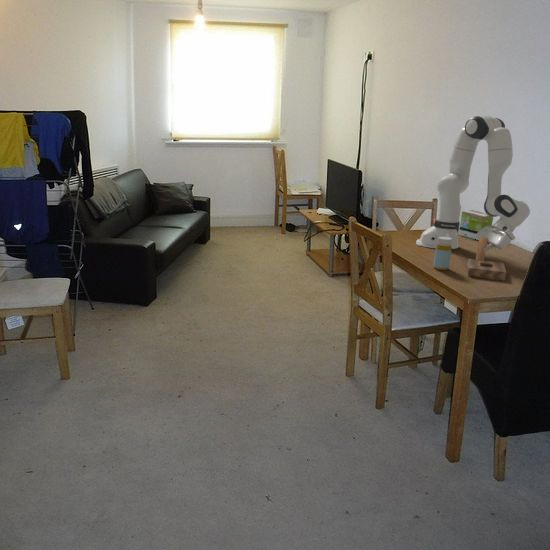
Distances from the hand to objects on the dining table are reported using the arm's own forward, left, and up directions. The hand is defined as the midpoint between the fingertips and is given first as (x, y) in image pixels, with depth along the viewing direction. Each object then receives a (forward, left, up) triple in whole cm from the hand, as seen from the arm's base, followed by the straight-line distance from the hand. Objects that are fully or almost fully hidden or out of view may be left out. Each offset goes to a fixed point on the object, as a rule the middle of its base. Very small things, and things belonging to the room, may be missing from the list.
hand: (480, 249), depth 274 cm
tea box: (0, +57, -8) cm, 58 cm away
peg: (+1, 0, -7) cm, 7 cm away
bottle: (-17, -17, -8) cm, 25 cm away
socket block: (+3, -16, -7) cm, 18 cm away
